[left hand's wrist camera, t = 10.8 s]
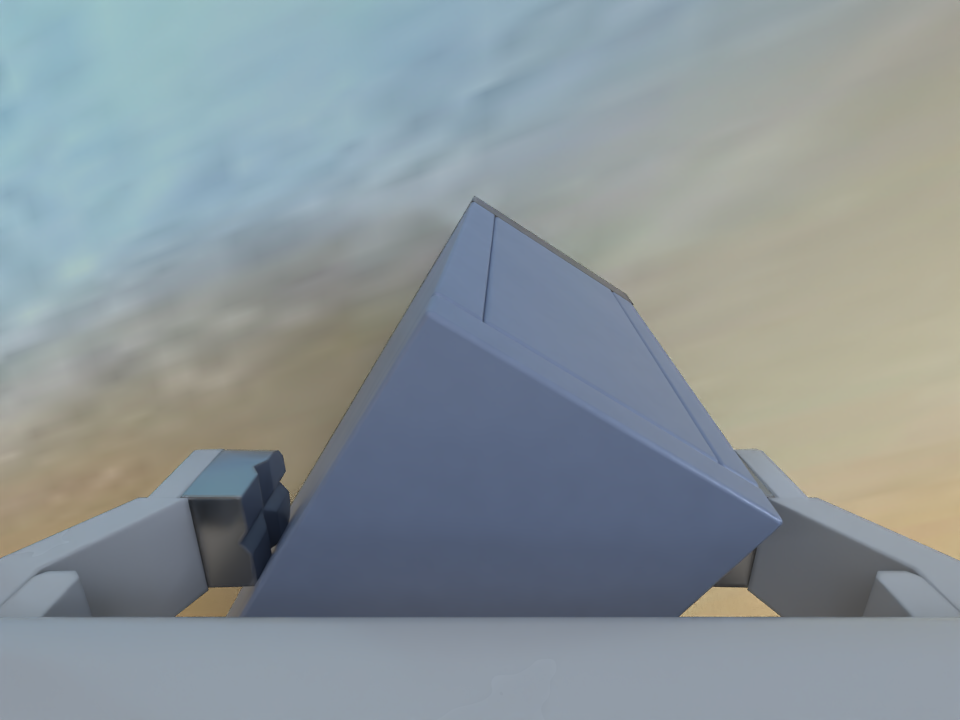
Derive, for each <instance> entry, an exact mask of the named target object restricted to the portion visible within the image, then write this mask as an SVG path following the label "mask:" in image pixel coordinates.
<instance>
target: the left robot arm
mask: <svg viewBox="0 0 960 720" xmlns="http://www.w3.org/2000/svg"><path fill="white" fill-rule="evenodd" d="M734 451H735V452H736V454H737V455H738V456H739V458H740V459H741V461H742V462H743V464H744V465H745V466H746V468H747V469H748V471H749V472H750V474H751V475H752V476H753V478H754V479H755V481H756V482H757V484H758V486H759V488H760V489H761V490H762V491H763V493H764V494H765V496H766V497H767V498H768V500H769V501H770V503H771V504H772V506H773V507H774V508H775V510H776V511H777V513H778V514H779V516H780V517H781V519H782V522H783V523H782V525H781V526H780V527H779V528H778V529H777V530H776V531H774V532H773V533H772V534H771V535H770V536H769V537H768V538H767V539H765V540H764V541H763V542H762V543H761V544H760V545H759V546H758V547H757V548H755V549H754V550H753V551H752V552H751V553H750V554H749V555H748V556H746V557H745V558H744V559H743V560H742V561H741V562H740V563H739V564H737V565H736V566H735V567H734V568H733V569H732V570H731V571H730V572H728V573H727V574H726V575H725V576H724V577H723V578H722V579H721V580H719V581H718V582H717V583H716V584H715V585H714V586H713V587H744V588H748V589H747V590H748V591H750V592H751V593H752V594H753V595H755V596H756V597H757V598H758V599H760V600H761V601H762V602H763V603H765V604H766V605H767V606H768V607H770V608H771V609H772V610H773V611H775V612H776V613H777V614H778V615H780V616H781V617H175V616H176V615H177V614H179V613H180V612H181V611H183V610H184V609H185V608H186V607H188V606H189V605H190V604H191V603H193V602H194V601H195V600H196V599H198V598H199V597H200V596H202V595H203V594H204V593H205V592H207V591H208V588H211V587H247V586H255V584H256V583H257V581H258V579H259V577H260V575H261V574H262V572H263V570H264V568H265V566H266V564H267V562H268V561H269V559H270V557H271V555H272V552H271V548H272V547H274V546H275V545H277V543H278V542H279V540H280V538H281V536H282V535H283V533H284V531H285V529H286V527H287V525H288V523H289V519H290V496H289V491H288V490H287V489H286V488H285V487H284V486H283V485H282V484H281V483H280V482H279V481H280V480H281V478H282V477H283V475H284V473H285V472H286V470H285V464H284V459H283V455H282V454H281V453H280V452H279V450H231V449H227V450H225V449H201V450H194V451H193V452H192V453H191V454H190V455H189V456H188V457H187V458H186V459H185V460H184V461H183V462H182V463H181V464H180V465H179V467H178V468H177V469H176V470H175V471H174V472H173V473H172V474H171V475H170V476H169V477H168V478H167V479H166V480H165V481H164V482H163V483H162V484H161V485H160V486H159V487H158V488H157V489H156V490H155V491H154V492H153V493H152V494H151V495H150V496H149V497H148V498H137V499H135V500H132V501H130V502H128V503H125V504H123V505H121V506H119V507H116V508H114V509H112V510H109V511H107V512H105V513H103V514H100V515H98V516H96V517H93V518H91V519H89V520H87V521H84V522H82V523H80V524H77V525H75V526H73V527H71V528H68V529H66V530H64V531H61V532H59V533H57V534H55V535H52V536H50V537H48V538H45V539H43V540H41V541H39V542H36V543H34V544H32V545H29V546H27V547H25V548H23V549H20V550H18V551H16V552H13V553H11V554H9V555H7V556H4V557H2V558H0V720H960V561H959V560H957V559H955V558H952V557H950V556H948V555H946V554H943V553H941V552H939V551H937V550H934V549H932V548H930V547H927V546H925V545H923V544H921V543H918V542H916V541H914V540H912V539H909V538H907V537H905V536H903V535H900V534H898V533H896V532H894V531H891V530H889V529H887V528H884V527H882V526H880V525H878V524H875V523H873V522H871V521H869V520H866V519H864V518H862V517H860V516H857V515H855V514H853V513H851V512H848V511H846V510H844V509H841V508H839V507H837V506H835V505H832V504H830V503H828V502H826V501H823V500H821V499H819V498H808V497H807V496H806V495H805V494H804V493H803V492H802V491H801V490H800V489H799V488H798V487H797V486H796V485H795V484H794V483H793V482H792V481H791V480H790V479H789V478H788V477H787V476H786V474H785V473H784V472H783V471H782V470H781V469H780V468H779V467H778V466H777V465H776V464H775V463H774V462H773V461H772V460H771V459H770V458H769V457H768V456H767V455H766V454H765V453H764V452H763V451H761V450H758V449H739V450H734Z"/></svg>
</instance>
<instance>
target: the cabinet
mask: <svg viewBox="0 0 960 720" xmlns="http://www.w3.org/2000/svg"><path fill="white" fill-rule="evenodd" d="M782 523H783V522H782V519H781V517H780V516H779V514H778V513H777V511H776V510H775V508H774V507H773V506H772V504H771V503H770V501H769V500H768V498H767V497H766V496H765V494H764V493H763V491H762V490H761V489H760V488H759V486H758V484H757V482H756V481H755V479H754V478H753V476H752V475H751V474H750V472H749V471H748V469H747V468H746V466H745V465H744V464H743V462H742V461H741V459H740V458H739V456H738V455H737V454H736V452H735V451H734V449H733V448H732V446H731V445H730V444H729V442H728V441H727V439H726V438H725V436H724V435H723V434H722V432H721V431H720V429H719V428H718V427H717V425H716V424H715V422H714V421H713V419H712V418H711V417H710V415H709V414H708V412H707V411H706V409H705V408H704V407H703V405H702V404H701V402H700V401H699V399H698V398H697V397H696V395H695V394H694V392H693V391H692V389H691V388H690V387H689V385H688V384H687V382H686V381H685V379H684V378H683V377H682V375H681V374H680V372H679V371H678V369H677V368H676V367H675V365H674V364H673V362H672V361H671V359H670V358H669V357H668V355H667V354H666V352H665V351H664V349H663V348H662V347H661V345H660V344H659V342H658V341H657V339H656V338H655V337H654V335H653V334H652V332H651V331H650V329H649V328H648V327H647V325H646V324H645V322H644V321H643V319H642V318H641V317H640V315H639V314H638V312H637V311H636V309H635V308H634V307H633V303H632V302H631V300H630V299H629V297H628V296H627V295H626V294H625V293H624V292H622V291H621V290H619V289H618V288H616V287H614V286H613V285H611V284H610V283H608V282H607V281H605V280H604V279H602V278H601V277H599V276H598V275H596V274H594V273H593V272H591V271H590V270H588V269H587V268H585V267H584V266H582V265H581V264H579V263H577V262H576V261H574V260H573V259H571V258H570V257H568V256H567V255H565V254H564V253H562V252H561V251H559V250H557V249H556V248H554V247H553V246H551V245H550V244H548V243H547V242H545V241H544V240H542V239H541V238H539V237H537V236H536V235H534V234H533V233H531V232H530V231H528V230H527V229H525V228H524V227H522V226H521V225H519V224H517V223H516V222H514V221H513V220H511V219H510V218H508V217H507V216H505V215H504V214H502V213H500V212H499V211H497V210H496V209H494V208H493V207H491V206H490V205H488V204H487V203H485V202H484V201H482V200H480V199H479V198H477V197H476V196H474V197H473V199H472V201H471V202H470V204H469V206H468V207H467V209H466V211H465V212H464V214H463V216H462V217H461V219H460V221H459V223H458V224H457V226H456V228H455V229H454V231H453V233H452V234H451V236H450V238H449V239H448V241H447V243H446V244H445V246H444V248H443V249H442V251H441V253H440V254H439V256H438V258H437V260H436V261H435V263H434V265H433V266H432V268H431V270H430V271H429V273H428V275H427V276H426V278H425V280H424V281H423V283H422V285H421V286H420V288H419V290H418V292H417V293H416V295H415V297H414V298H413V300H412V302H411V303H410V305H409V307H408V308H407V310H406V312H405V313H404V315H403V317H402V318H401V320H400V322H399V324H398V325H397V327H396V329H395V330H394V332H393V334H392V335H391V337H390V339H389V340H388V342H387V344H386V345H385V347H384V349H383V350H382V352H381V354H380V356H379V357H378V359H377V361H376V362H375V364H374V366H373V367H372V369H371V371H370V372H369V374H368V376H367V377H366V379H365V381H364V382H363V384H362V386H361V388H360V389H359V391H358V393H357V394H356V396H355V398H354V399H353V401H352V403H351V404H350V406H349V408H348V409H347V411H346V413H345V414H344V416H343V418H342V419H341V421H340V423H339V425H338V426H337V428H336V430H335V431H334V433H333V435H332V436H331V438H330V440H329V441H328V443H327V445H326V446H325V448H324V450H323V451H322V453H321V455H320V457H319V458H318V460H317V462H316V463H315V465H314V467H313V468H312V470H311V472H310V473H309V475H308V477H307V478H306V480H305V482H304V483H303V485H302V487H301V489H300V490H299V492H298V494H297V495H296V497H295V499H294V500H293V502H292V504H291V505H290V519H289V523H288V525H287V527H286V529H285V531H284V533H283V535H282V536H281V538H280V540H279V542H278V543H277V545H275V546H274V547H272V548H271V552H272V555H271V557H270V559H269V561H268V562H267V564H266V566H265V568H264V570H263V572H262V574H261V575H260V577H259V579H258V581H257V583H256V584H255V586H247V587H242V588H241V590H240V592H239V594H238V596H237V598H236V600H235V601H234V603H233V605H232V607H231V608H230V610H229V612H228V614H227V615H226V617H679V616H680V615H681V614H682V613H683V612H685V611H686V610H687V609H688V608H689V607H690V606H691V605H692V604H694V603H695V602H696V601H697V600H698V599H699V598H700V597H701V596H703V595H704V594H705V593H706V592H707V591H708V590H709V589H710V588H712V587H713V586H714V585H715V584H716V583H717V582H718V581H719V580H721V579H722V578H723V577H724V576H725V575H726V574H727V573H728V572H730V571H731V570H732V569H733V568H734V567H735V566H736V565H737V564H739V563H740V562H741V561H742V560H743V559H744V558H745V557H746V556H748V555H749V554H750V553H751V552H752V551H753V550H754V549H755V548H757V547H758V546H759V545H760V544H761V543H762V542H763V541H764V540H765V539H767V538H768V537H769V536H770V535H771V534H772V533H773V532H774V531H776V530H777V529H778V528H779V527H780V526H781V525H782Z"/></svg>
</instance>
